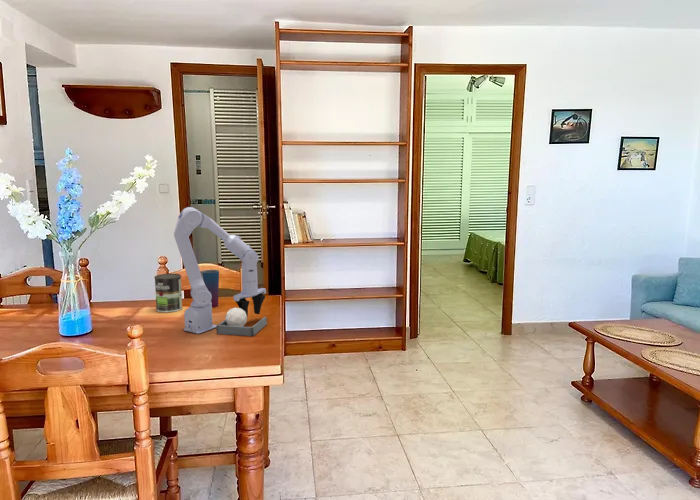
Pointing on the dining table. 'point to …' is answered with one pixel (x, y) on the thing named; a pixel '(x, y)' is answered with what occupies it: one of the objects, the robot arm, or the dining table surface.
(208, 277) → the cup
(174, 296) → the coffee can
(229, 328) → the tray
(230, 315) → the geometric ball
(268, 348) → the dining table surface
